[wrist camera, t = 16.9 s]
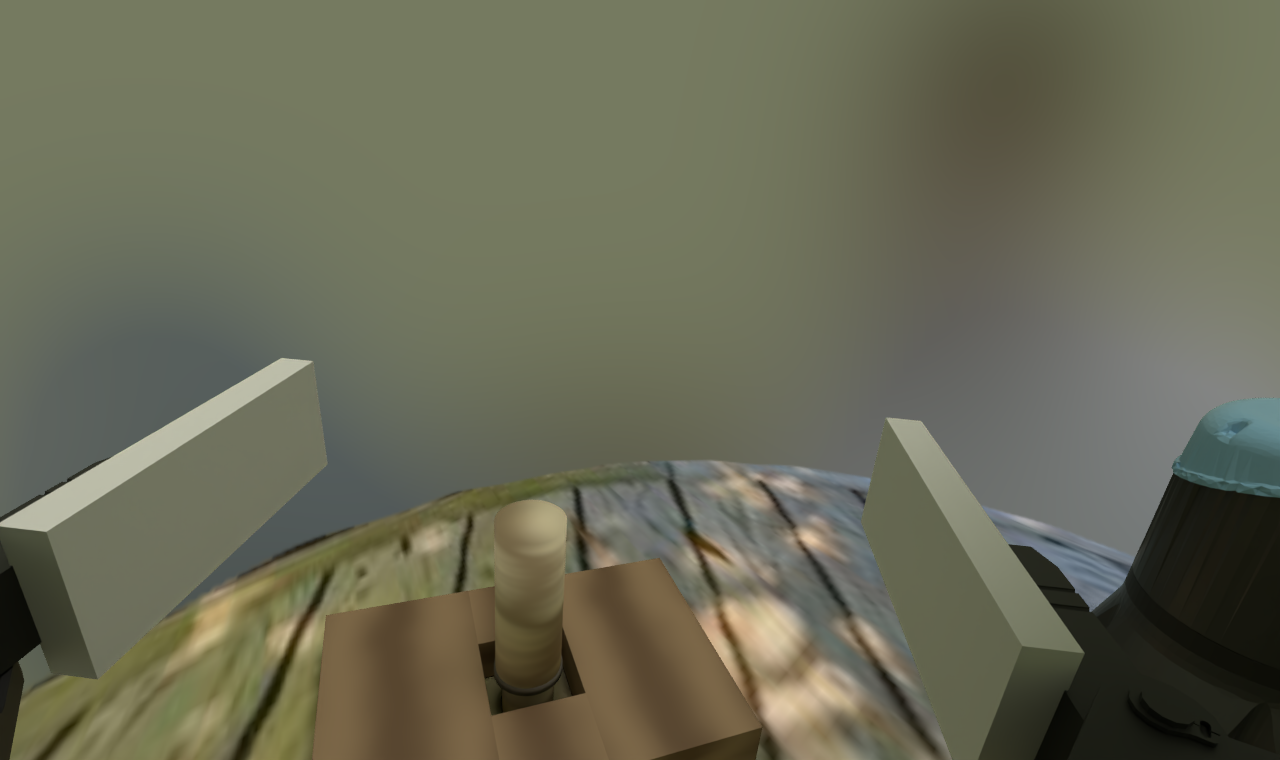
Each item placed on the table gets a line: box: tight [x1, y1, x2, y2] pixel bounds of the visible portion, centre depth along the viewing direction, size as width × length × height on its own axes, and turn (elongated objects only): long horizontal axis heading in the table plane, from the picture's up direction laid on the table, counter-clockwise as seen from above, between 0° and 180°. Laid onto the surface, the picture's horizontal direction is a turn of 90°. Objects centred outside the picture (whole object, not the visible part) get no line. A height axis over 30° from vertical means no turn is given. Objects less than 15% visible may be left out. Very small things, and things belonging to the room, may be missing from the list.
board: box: [312, 558, 762, 760], centre depth 41 cm, size 24×16×3 cm, turn 110°
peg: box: [494, 500, 567, 713], centre depth 39 cm, size 4×4×14 cm
